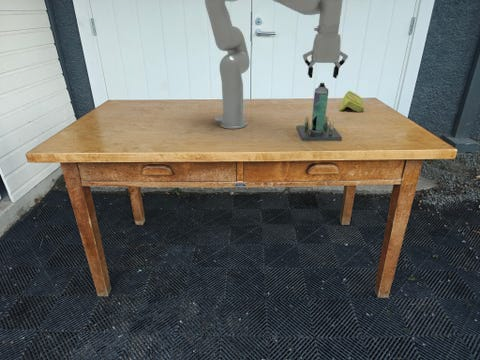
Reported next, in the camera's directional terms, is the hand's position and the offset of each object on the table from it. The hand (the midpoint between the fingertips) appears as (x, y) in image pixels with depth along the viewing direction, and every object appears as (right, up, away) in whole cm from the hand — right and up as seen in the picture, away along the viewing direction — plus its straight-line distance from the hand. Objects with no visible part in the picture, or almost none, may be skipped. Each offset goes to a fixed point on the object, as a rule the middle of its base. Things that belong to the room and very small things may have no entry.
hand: (322, 77), depth 127 cm
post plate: (+1, -21, +11) cm, 24 cm away
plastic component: (+29, -1, +50) cm, 58 cm away
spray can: (0, -20, +10) cm, 22 cm away
